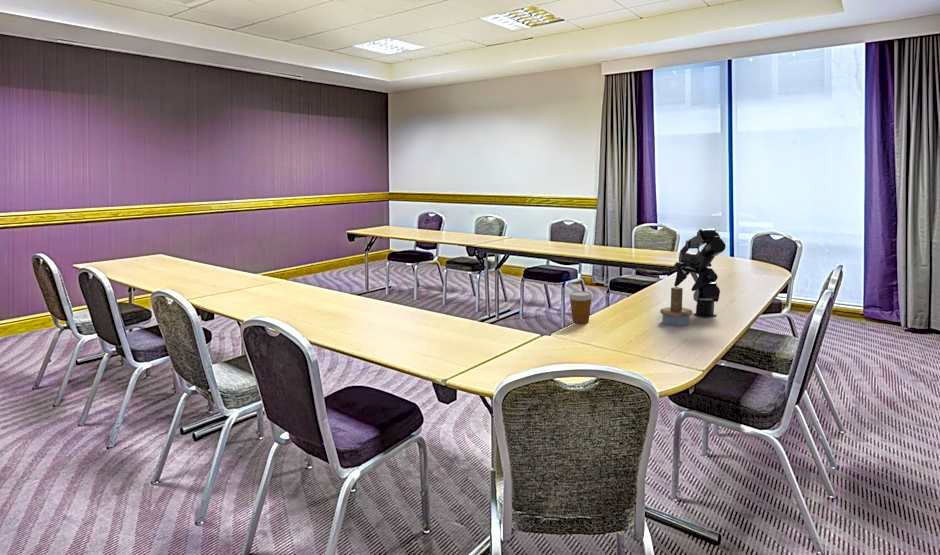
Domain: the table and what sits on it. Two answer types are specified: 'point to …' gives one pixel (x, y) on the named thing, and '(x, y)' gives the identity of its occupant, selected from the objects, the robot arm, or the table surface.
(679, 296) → the walnut lid
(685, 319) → the slate bowl
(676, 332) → the table surface
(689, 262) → the robot arm
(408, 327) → the table surface
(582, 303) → the disposable coffee cup
